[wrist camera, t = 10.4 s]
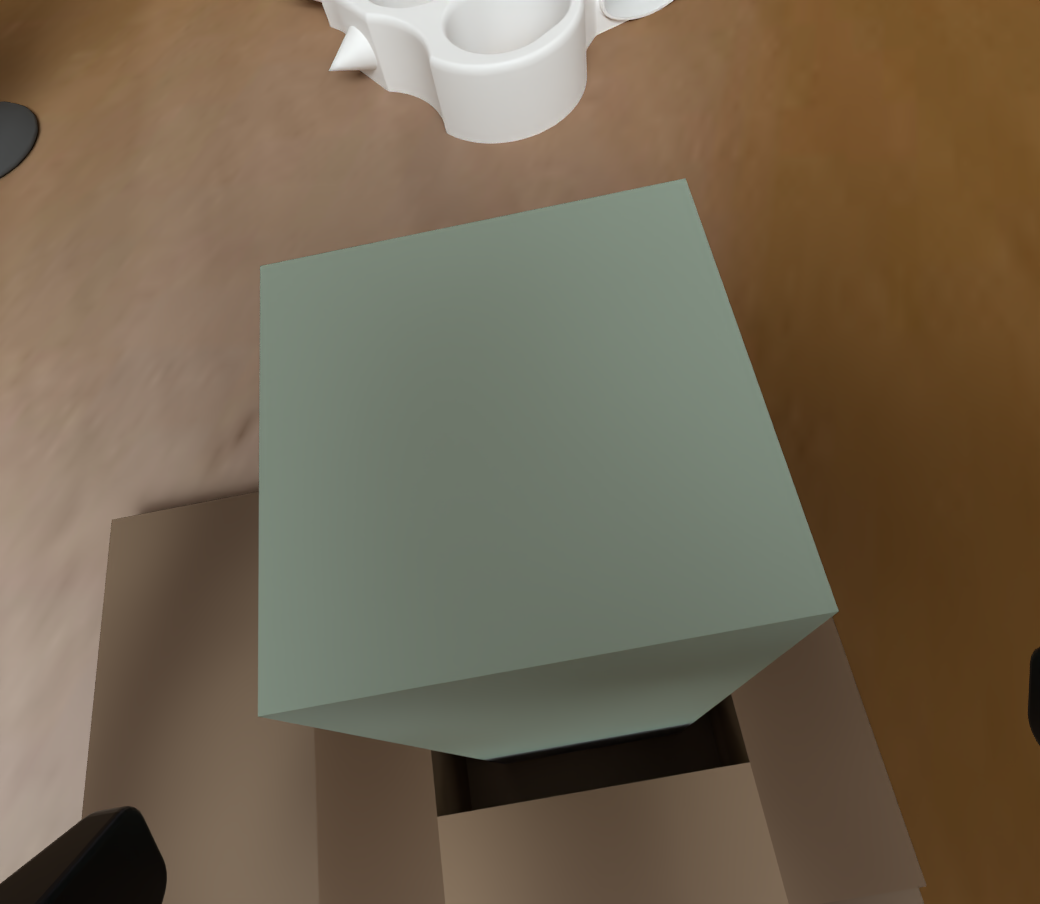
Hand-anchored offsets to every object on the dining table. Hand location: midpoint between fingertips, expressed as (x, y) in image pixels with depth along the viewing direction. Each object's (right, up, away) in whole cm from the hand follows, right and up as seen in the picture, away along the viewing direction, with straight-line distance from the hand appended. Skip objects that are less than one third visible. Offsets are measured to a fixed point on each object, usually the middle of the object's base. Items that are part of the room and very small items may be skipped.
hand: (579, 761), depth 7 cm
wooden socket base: (-2, -3, +11) cm, 11 cm away
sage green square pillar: (+1, -2, +10) cm, 10 cm away
